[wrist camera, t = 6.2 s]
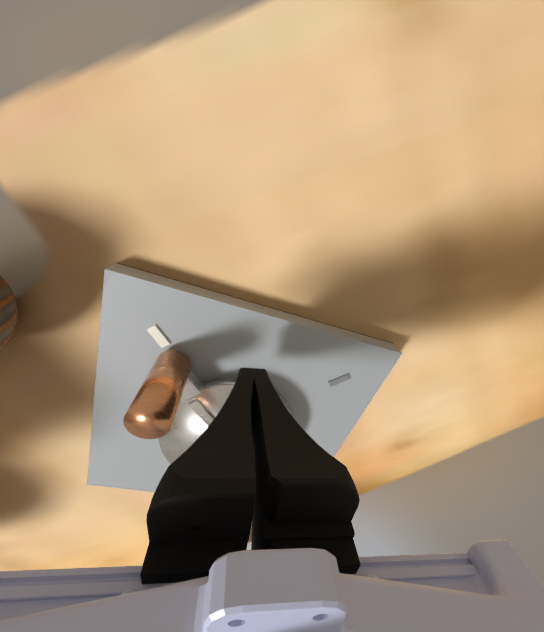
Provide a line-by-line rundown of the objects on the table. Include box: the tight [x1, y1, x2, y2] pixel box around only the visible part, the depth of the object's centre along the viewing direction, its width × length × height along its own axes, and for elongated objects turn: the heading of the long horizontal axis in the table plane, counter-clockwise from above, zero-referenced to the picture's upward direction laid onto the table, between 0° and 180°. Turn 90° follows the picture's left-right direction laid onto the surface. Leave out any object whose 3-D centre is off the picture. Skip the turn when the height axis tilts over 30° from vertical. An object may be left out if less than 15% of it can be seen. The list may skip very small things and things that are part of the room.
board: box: [87, 263, 402, 492], centre depth 19 cm, size 18×18×1 cm
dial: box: [123, 350, 293, 464], centre depth 15 cm, size 12×9×4 cm
